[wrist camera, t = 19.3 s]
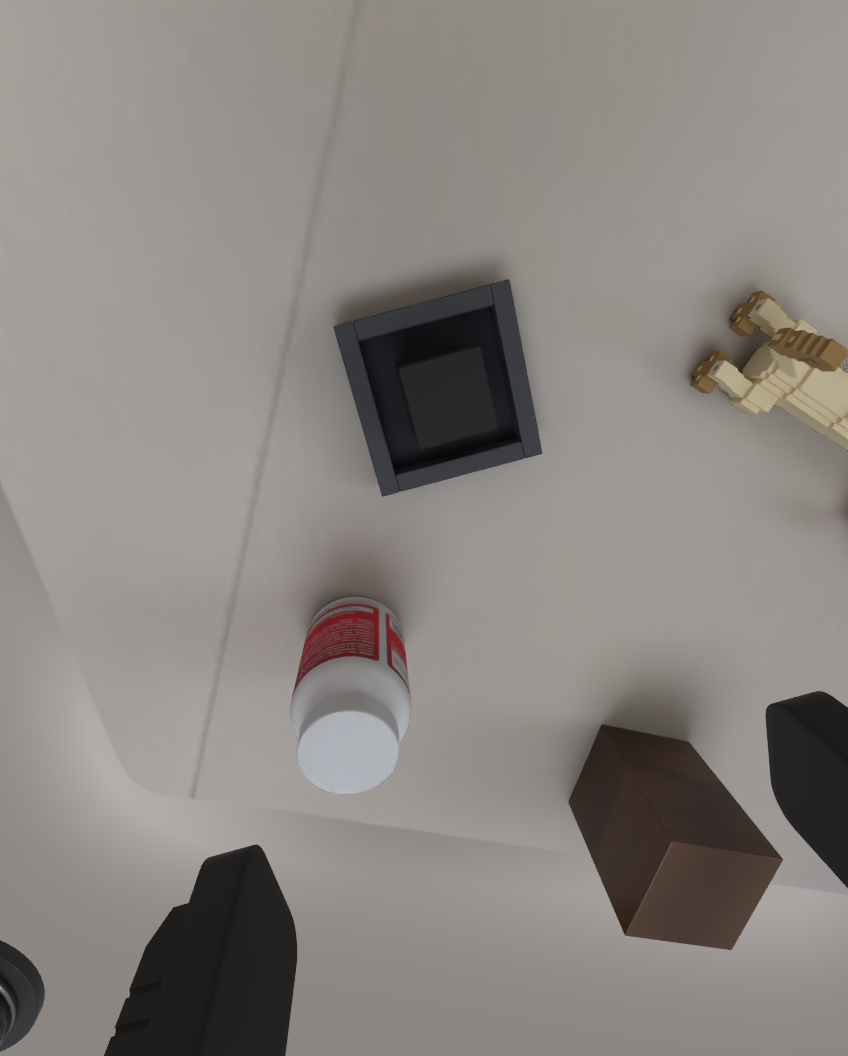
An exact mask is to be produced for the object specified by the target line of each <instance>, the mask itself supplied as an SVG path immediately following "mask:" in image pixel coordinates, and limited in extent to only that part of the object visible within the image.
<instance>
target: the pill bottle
mask: <svg viewBox="0 0 848 1056" xmlns="http://www.w3.org/2000/svg"><path fill="white" fill-rule="evenodd" d="M290 718H291V724H292V728H293V731H294V733H295V735H296V737H297V739H298V747H297V759H298V763H299V766H300V769H301V770H302V772H303V774H304V775H305V776H306V778H307V779H308V780H309V781H310V782H311V783H313V784H314V785H316V786H317V787H319V788H321V789H323V790H326V791H329V792H332V793H338V794H354V793H360V792H364V791H367V790H369V789H372V788H374V787H376V786H377V785H379V784H380V783H382V782H383V781H384V780H385V779H386V778H387V777H388V776H389V775H390V774H391V772H392V771H393V770H394V768H395V766H396V763H397V760H398V755H399V743H400V742H401V740H402V739H403V737H404V735H405V733H406V731H407V729H408V726H409V723H410V718H411V699H410V689H409V681H408V672H407V663H406V654H405V645H404V636H403V631H402V628H401V625H400V623H399V621H398V619H397V618H396V616H395V615H394V614H393V613H392V612H391V610H389V609H388V608H387V607H386V606H384V605H383V604H381V603H379V602H377V601H375V600H372V599H369V598H364V597H346V598H342V599H339V600H336V601H334V602H332V603H330V604H328V605H326V606H325V607H324V608H322V609H321V610H320V611H319V612H318V613H317V614H316V616H315V617H314V618H313V620H312V622H311V624H310V626H309V628H308V632H307V635H306V639H305V644H304V648H303V652H302V657H301V661H300V665H299V670H298V674H297V679H296V683H295V687H294V691H293V696H292V701H291V708H290Z"/></svg>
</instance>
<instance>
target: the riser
mask: <svg viewBox="0 0 848 1056" xmlns="http://www.w3.org/2000/svg"><path fill="white" fill-rule="evenodd" d="M569 805H570V807H571V810H572V812H573V814H574V817H575V819H576V822H577V824H578V826H579V829H580V831H581V833H582V836H583V838H584V840H585V843H586V845H587V847H588V850H589V852H590V854H591V857H592V859H593V861H594V864H595V866H596V868H597V871H598V873H599V875H600V878H601V880H602V883H603V885H604V887H605V890H606V892H607V894H608V897H609V898H610V901H611V904H612V906H613V908H614V911H615V913H616V915H617V918H618V920H619V922H620V925H621V927H622V930H623V932H624V934H625V935H626V936H632V937H639V938H647V939H655V940H662V941H669V942H676V943H684V944H691V945H699V946H705V947H706V946H707V947H714V948H720V949H728V950H732V948H733V946H734V945H735V943H736V941H737V940H738V938H739V936H740V934H741V933H742V931H743V929H744V927H745V926H746V924H747V922H748V920H749V918H750V917H751V915H752V913H753V912H754V910H755V908H756V906H757V904H758V903H759V901H760V899H761V897H762V896H763V894H764V892H765V890H766V889H767V887H768V885H769V884H770V882H771V880H772V878H773V877H774V875H775V873H776V871H777V870H778V868H779V866H780V864H781V863H782V861H783V859H782V858H781V856H780V855H779V854H778V853H777V851H776V850H775V849H774V848H773V846H772V845H771V844H770V843H769V841H768V840H767V839H766V838H765V836H764V835H763V834H762V833H761V831H760V830H759V829H758V828H757V826H756V825H755V824H754V823H753V821H752V820H751V819H750V818H749V816H748V815H747V814H746V813H745V811H744V810H743V809H742V808H741V806H740V805H739V804H738V803H737V801H736V800H735V799H734V798H733V796H732V795H731V794H730V793H729V791H728V790H727V789H726V788H725V786H724V785H723V784H722V783H721V781H720V780H719V779H718V778H717V776H716V775H715V774H714V773H713V771H712V770H711V769H710V768H709V766H708V765H707V764H706V763H705V761H704V760H703V759H702V758H701V756H700V755H699V754H698V753H697V751H696V750H695V749H694V748H693V746H692V745H691V744H690V743H689V742H686V741H681V740H676V739H671V738H666V737H661V736H655V735H650V734H645V733H640V732H635V731H630V730H625V729H620V728H615V727H610V726H605V725H602V726H601V728H600V731H599V733H598V735H597V738H596V740H595V742H594V745H593V747H592V749H591V752H590V754H589V757H588V759H587V761H586V764H585V766H584V768H583V771H582V773H581V775H580V778H579V780H578V782H577V785H576V787H575V789H574V792H573V794H572V796H571V799H570V801H569Z"/></svg>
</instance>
